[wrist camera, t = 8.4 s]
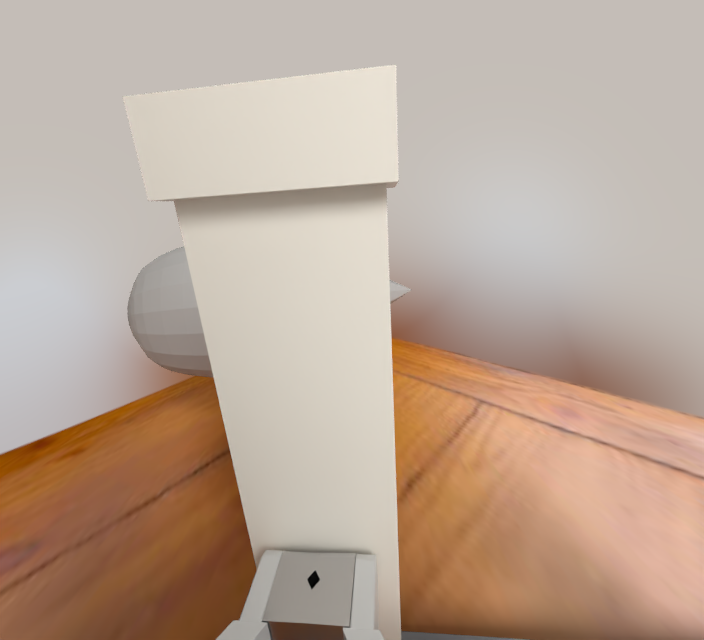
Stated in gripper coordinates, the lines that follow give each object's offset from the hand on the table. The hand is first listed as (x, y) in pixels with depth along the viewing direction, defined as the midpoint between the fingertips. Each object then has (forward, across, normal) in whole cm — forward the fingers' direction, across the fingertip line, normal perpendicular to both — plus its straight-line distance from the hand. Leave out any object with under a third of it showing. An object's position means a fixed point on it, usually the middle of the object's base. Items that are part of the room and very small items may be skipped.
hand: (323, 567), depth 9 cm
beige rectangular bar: (+1, 0, +8) cm, 8 cm away
